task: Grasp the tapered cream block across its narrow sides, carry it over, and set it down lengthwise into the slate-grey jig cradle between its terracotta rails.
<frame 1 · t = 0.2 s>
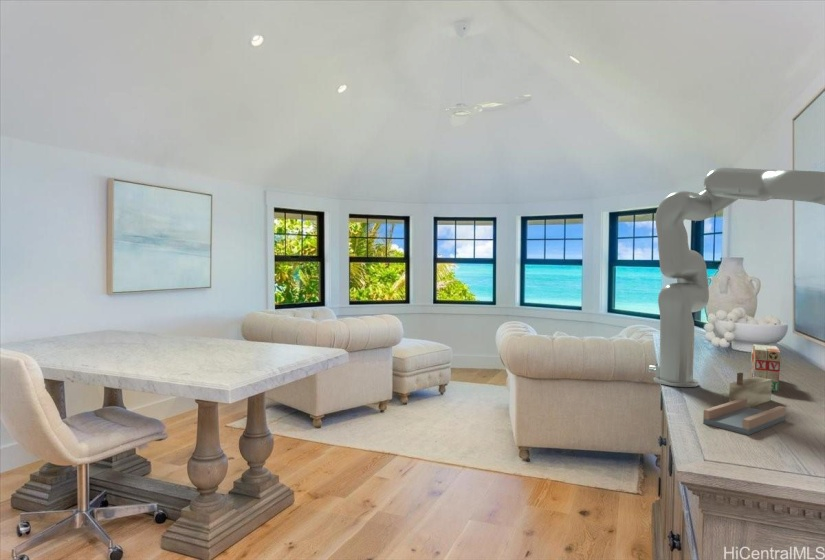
jig cradle: (744, 421, 118), on the table
stack of blocks: (763, 384, 159), on the table
tapered cream block: (750, 403, 135), on the table
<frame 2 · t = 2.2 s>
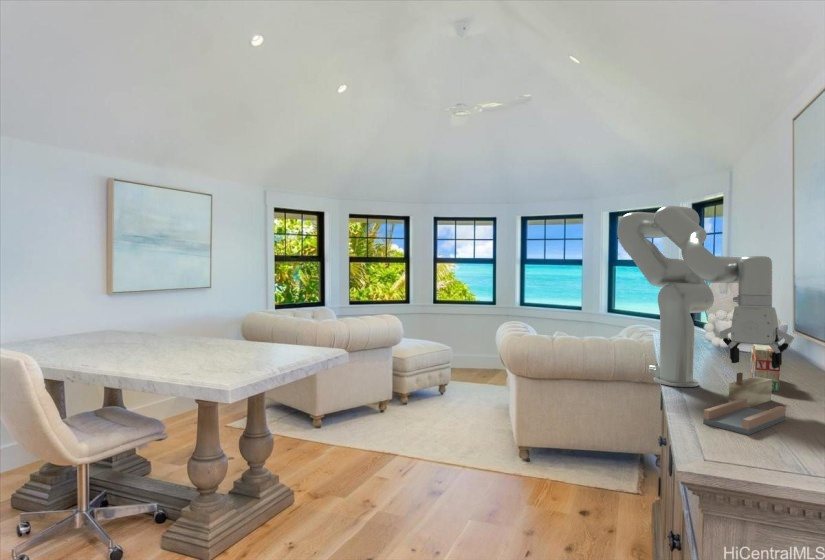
hand: (755, 365, 134), 10 cm above the table, fingers open, 9 cm apart
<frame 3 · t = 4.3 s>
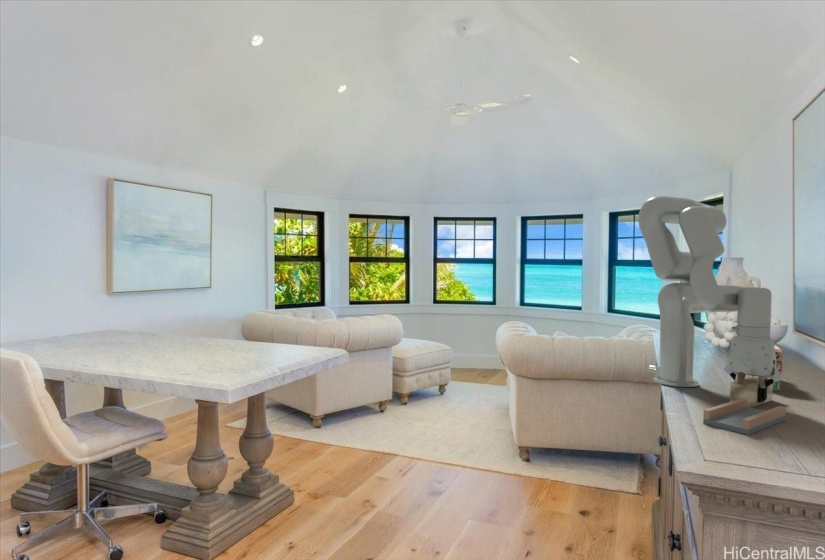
hand: (751, 399, 135), 1 cm above the table, fingers closed on tapered cream block, 4 cm apart
tapered cream block: (751, 402, 135), on the table, touching gripper
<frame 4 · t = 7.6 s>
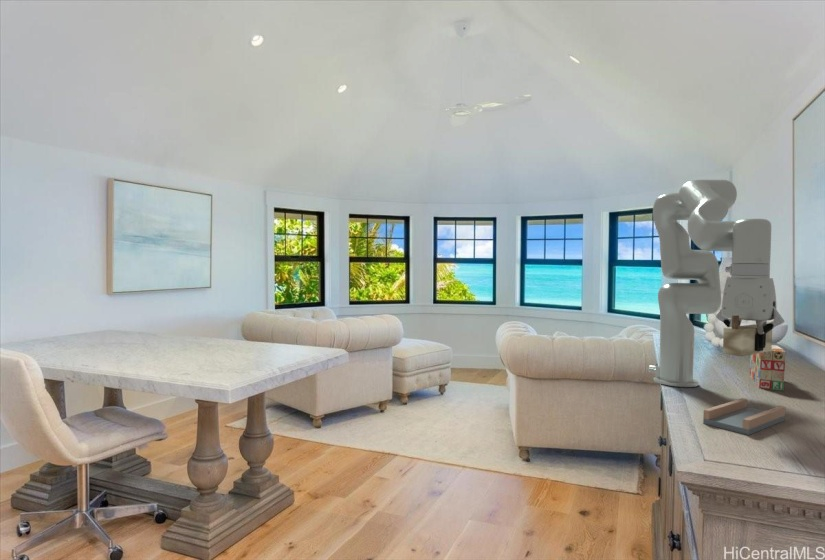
hand: (747, 348, 117), 17 cm above the table, fingers closed on tapered cream block, 4 cm apart
tapered cream block: (747, 352, 117), point 17 cm above the table, touching gripper
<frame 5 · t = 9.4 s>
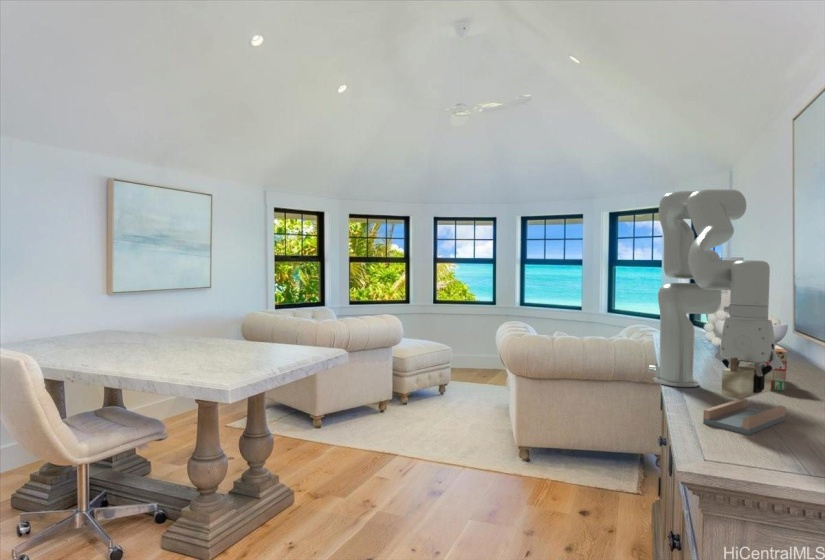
hand: (746, 389, 117), 8 cm above the table, fingers closed on tapered cream block, 4 cm apart
tapered cream block: (746, 393, 117), point 7 cm above the table, touching gripper
when the fingers open (3 cm above the table, at t = 11.0 s): tapered cream block drops 1 cm, resting on jig cradle.
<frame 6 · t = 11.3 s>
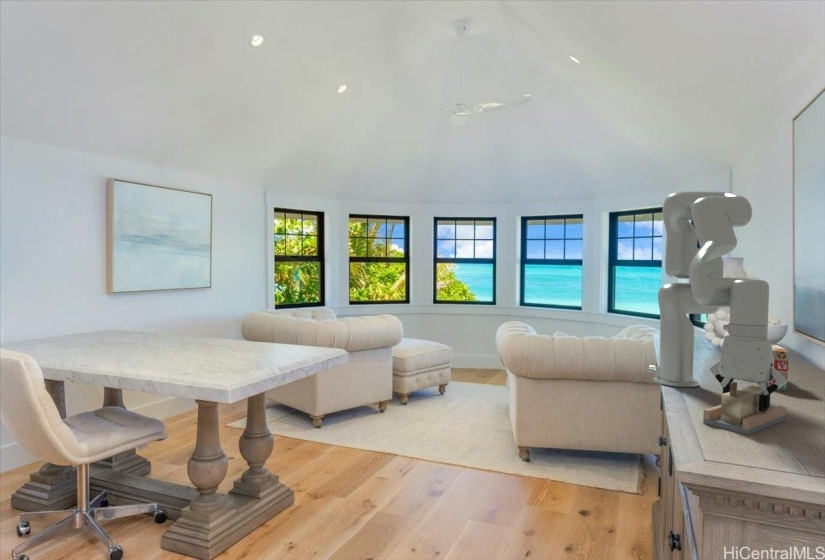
hand: (745, 406, 118), 4 cm above the table, fingers open, 6 cm apart
tapered cream block: (745, 416, 118), point 1 cm above the table, touching jig cradle
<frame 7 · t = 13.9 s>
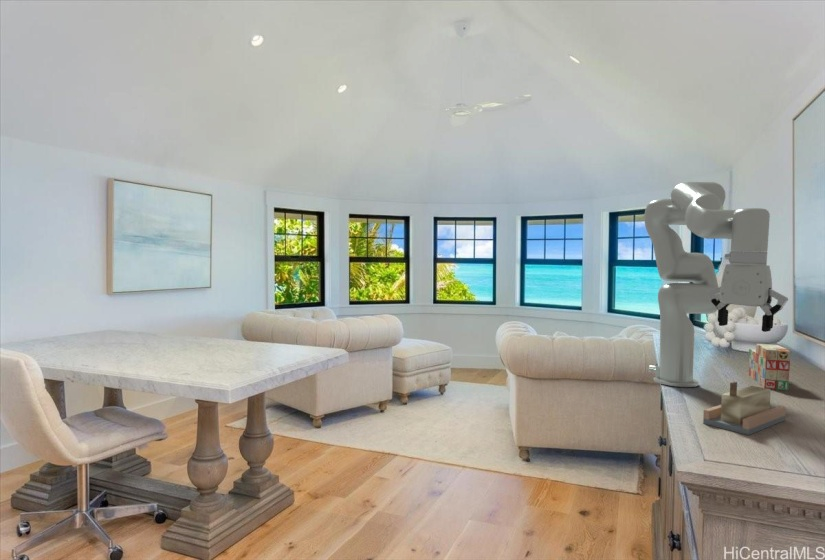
hand: (743, 328, 123), 22 cm above the table, fingers open, 9 cm apart
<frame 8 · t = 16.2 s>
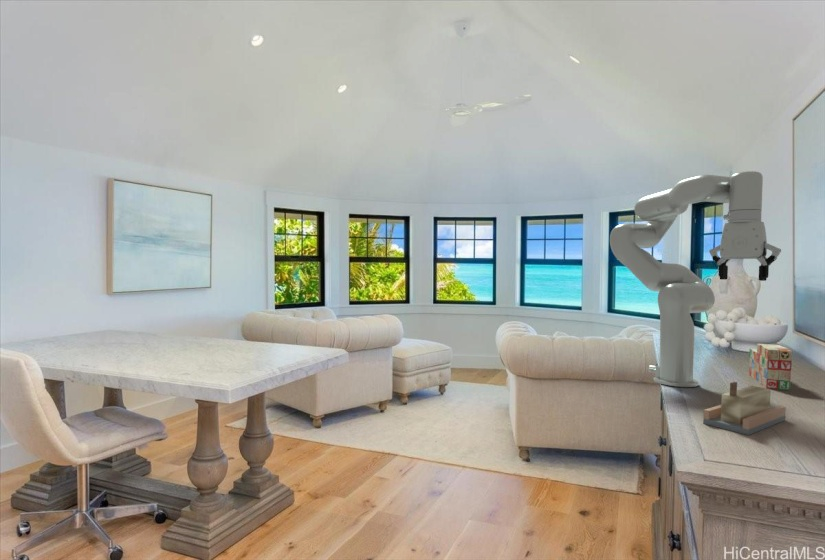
hand: (742, 279, 137), 33 cm above the table, fingers open, 9 cm apart
at the end: tapered cream block 0.2 cm off-centre on the jig cradle, point 1.2 cm above the jig cradle's base; tapered cream block tilted 0°; the gripper is holding nothing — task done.
